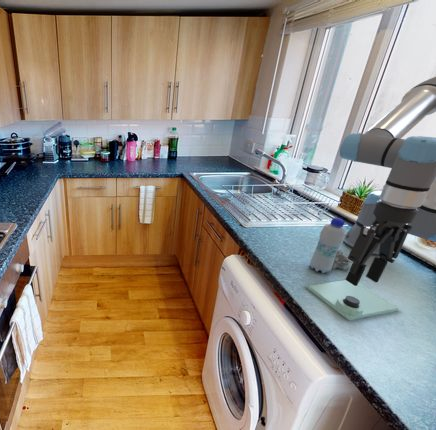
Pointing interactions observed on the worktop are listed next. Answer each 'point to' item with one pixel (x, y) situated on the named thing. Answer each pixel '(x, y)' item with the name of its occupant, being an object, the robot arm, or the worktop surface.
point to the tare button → (351, 301)
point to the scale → (340, 289)
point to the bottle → (328, 245)
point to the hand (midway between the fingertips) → (361, 280)
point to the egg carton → (341, 261)
